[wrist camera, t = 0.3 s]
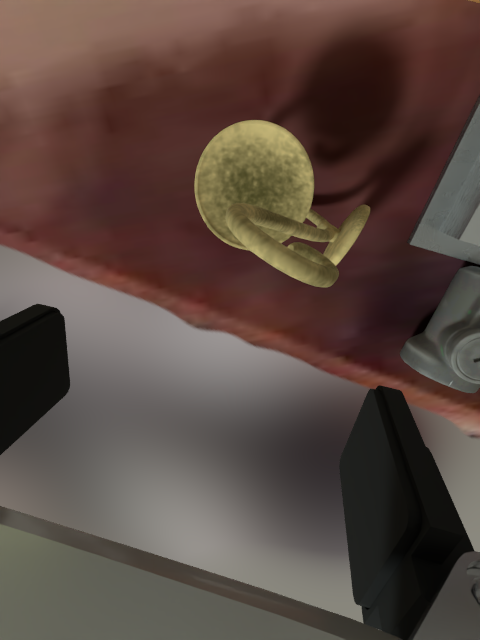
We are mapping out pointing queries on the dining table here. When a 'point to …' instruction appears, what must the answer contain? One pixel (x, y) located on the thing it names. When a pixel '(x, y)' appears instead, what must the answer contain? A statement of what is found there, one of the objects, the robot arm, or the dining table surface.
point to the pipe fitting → (451, 336)
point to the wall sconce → (270, 201)
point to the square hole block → (455, 200)
